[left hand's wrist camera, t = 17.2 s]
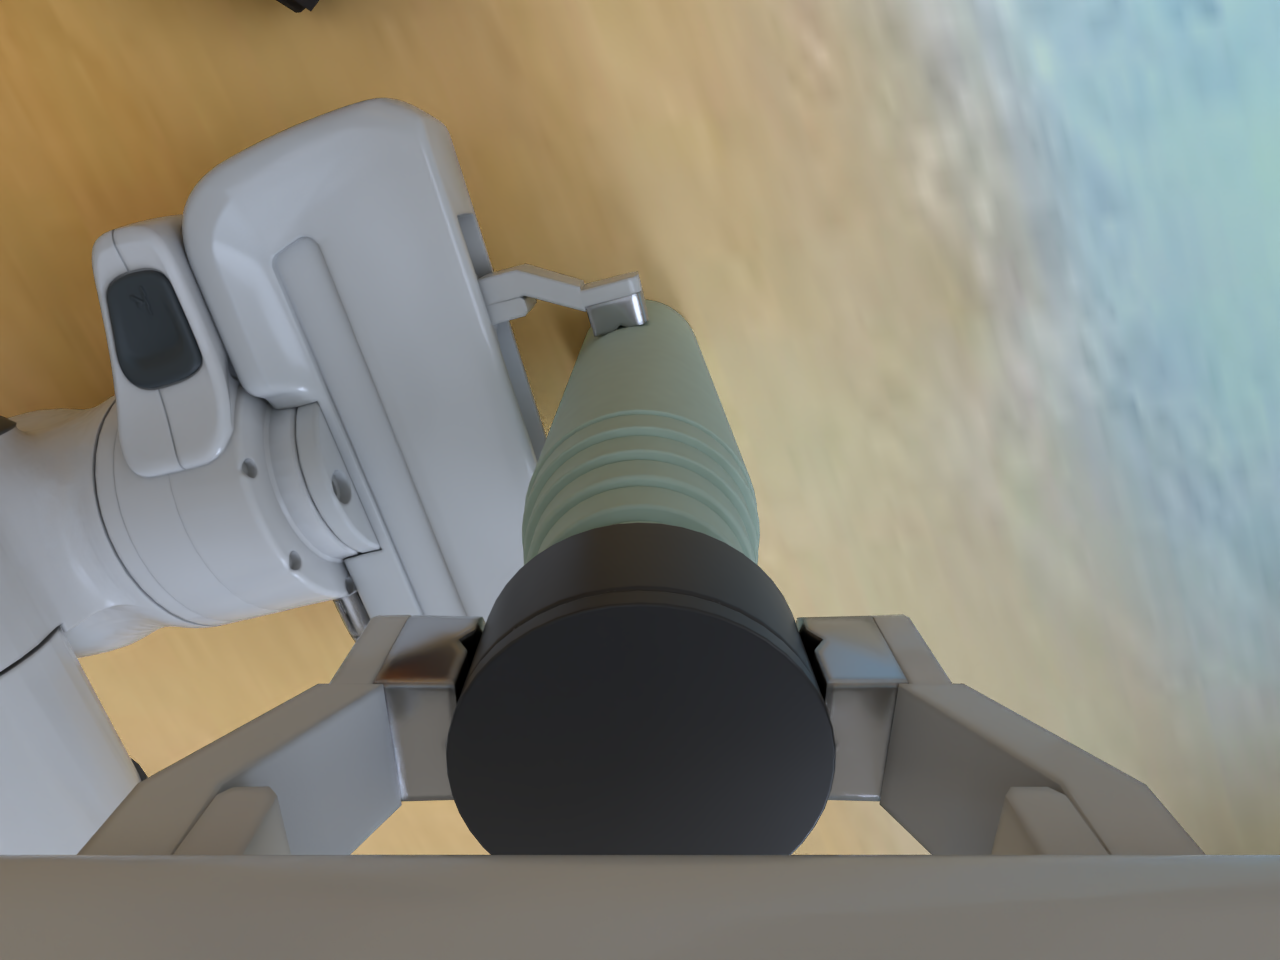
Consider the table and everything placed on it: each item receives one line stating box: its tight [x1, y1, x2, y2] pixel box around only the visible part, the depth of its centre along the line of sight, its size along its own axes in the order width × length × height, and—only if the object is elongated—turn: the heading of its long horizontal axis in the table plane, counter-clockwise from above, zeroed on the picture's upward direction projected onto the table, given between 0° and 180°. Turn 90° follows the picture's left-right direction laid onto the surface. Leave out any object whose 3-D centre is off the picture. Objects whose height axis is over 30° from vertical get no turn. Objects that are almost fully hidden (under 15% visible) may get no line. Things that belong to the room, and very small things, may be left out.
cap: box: [446, 523, 836, 855], centre depth 9 cm, size 4×4×2 cm
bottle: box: [522, 300, 760, 565], centre depth 19 cm, size 5×5×22 cm
